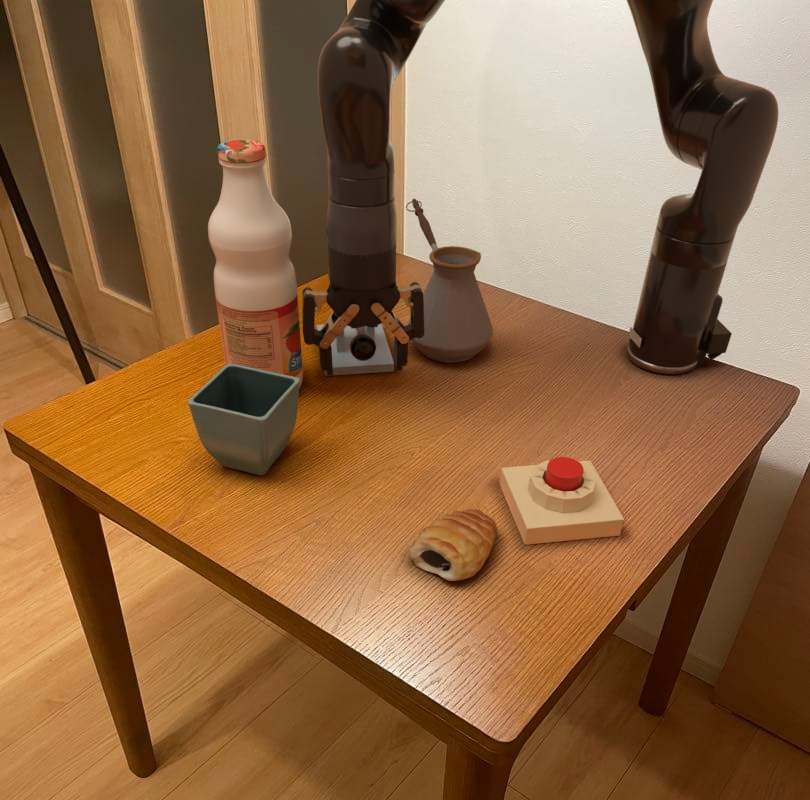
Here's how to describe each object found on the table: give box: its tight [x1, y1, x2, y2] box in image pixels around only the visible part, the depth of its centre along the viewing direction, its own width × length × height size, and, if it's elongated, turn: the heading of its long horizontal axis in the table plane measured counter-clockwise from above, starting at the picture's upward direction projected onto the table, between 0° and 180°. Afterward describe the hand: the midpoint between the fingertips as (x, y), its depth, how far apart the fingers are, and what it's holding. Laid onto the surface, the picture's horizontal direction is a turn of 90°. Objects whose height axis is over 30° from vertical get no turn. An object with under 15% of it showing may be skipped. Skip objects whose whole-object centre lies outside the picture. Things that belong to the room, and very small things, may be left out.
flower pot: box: [187, 364, 300, 476], centre depth 86 cm, size 9×9×9 cm
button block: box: [498, 459, 625, 546], centre depth 82 cm, size 10×10×4 cm
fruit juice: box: [207, 138, 304, 389], centre depth 91 cm, size 9×9×28 cm
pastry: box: [408, 508, 498, 582], centre depth 77 cm, size 9×7×4 cm
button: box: [545, 456, 584, 492], centre depth 80 cm, size 4×4×2 cm
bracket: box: [316, 267, 395, 377], centre depth 103 cm, size 12×9×13 cm
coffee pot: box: [405, 198, 494, 363], centre depth 107 cm, size 21×12×15 cm, turn 20°
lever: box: [350, 326, 376, 361], centre depth 98 cm, size 14×3×3 cm, turn 10°
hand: (364, 369), depth 98 cm, fingers open, 8 cm apart
